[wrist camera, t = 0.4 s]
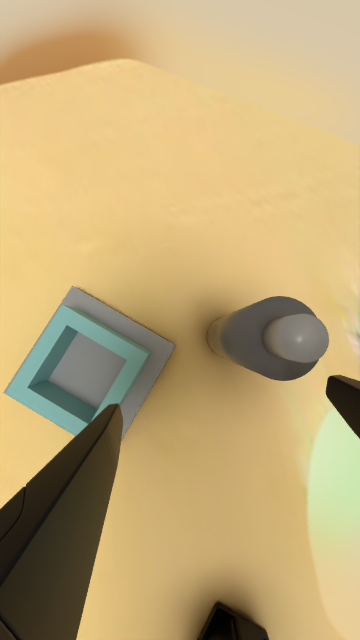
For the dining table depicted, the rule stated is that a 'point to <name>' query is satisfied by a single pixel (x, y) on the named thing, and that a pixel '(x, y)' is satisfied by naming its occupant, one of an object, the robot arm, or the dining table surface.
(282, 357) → the plug
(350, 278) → the dining table surface
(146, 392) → the socket
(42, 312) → the dining table surface
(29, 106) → the dining table surface
